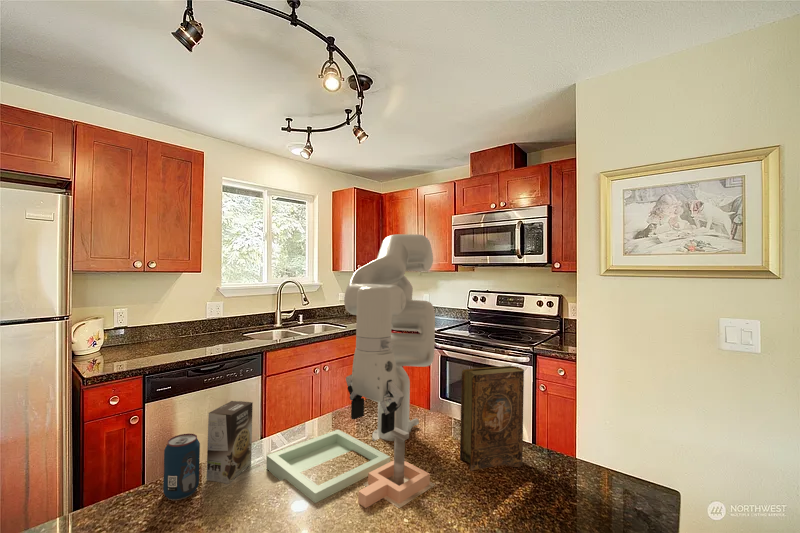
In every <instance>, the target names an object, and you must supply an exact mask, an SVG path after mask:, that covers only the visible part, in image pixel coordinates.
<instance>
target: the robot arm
mask: <svg viewBox="0 0 800 533" xmlns="http://www.w3.org/2000/svg"><path fill="white" fill-rule="evenodd" d="M433 262H434V254H433V249H432V244H431V242H430V239H429V238H428V237H427V236H425V235H423V234H415V233H414V234H412V233H411V234H409V233H407V234H405V233H404V234H401V233H400V234H390V235H388V236H386V237H385V238H384V239H383V240H382V242H381V245H380V248H379V251H378V253H377V256H376V259H374V260H372V261H370V262H369V263H367V264H365V265H363V266H361V267H359V268H358V269H357V270H355V272H353V274H352V275H351V277H350V279H349V281H348V283H347V286H346V289H345V292H344V295H343V296H344V297H343V303H344V308H345V310H346V312H348V313H349V314H350V315H353V316H356V328H355V329H356V330H355V331H356V332H355V333H356V334H355V337H356V338H355V339H356V340H355V350H354V354H353V360H352V367H351V368H352V369H351V370H352V372H351V374H349V375H347V376H346V377H345V381H346V385H347V391H348V394H349V400H350V401H351V404H350V409H351V411H350V412H351V413H350V419H351V420H356V419H360V418H362V417H364V416H365V398H366V399H369V400H371V401H373V402H376V403H377V429H375V430H374V431H372V435H371V438H372V442H374V441H377V440H379V439H382V440H384V441H387V442H388V441H389V442H394V436H393V435H391V434H390V433H391V431H392V430H394V427H396V428H399V429H401V430H403V431H406V432H408V433H409V434H410V433H411V432H412V429H413V428H414V427H416V426H417V425H419V424H420V420H419V418H417V417H416V418H413V419H411V420H410V401H411V399H410V392H411V390H410V389H411V388H410V387H411V381H410V377H409V375H408V373H407V371H406V370H405V369H404V367H418V368H419V367H423V368H424V367H430V366H431V365H432V364H433V361H434V357H435V342H436V340H435V338H436V337H435V336H436V312H435V308H434V305H433V303H431V301H427V300H418V299H417V300H415V299H413V285H412V283H411V282H410V280H409V279H408V278H407V277H406V276H405V274H406V272H428V271H429V270H431V268H432V266H433ZM392 330H394V331H407V332H418V333H407V332H405V333H404V332H392Z"/></svg>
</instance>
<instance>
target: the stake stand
mask: <svg viewBox="0 0 800 533" xmlns="http://www.w3.org/2000/svg"><path fill="white" fill-rule="evenodd" d="M390 434H391V435H393V436H394V441H393V442H394V446H393V447H394V448H393V460H394V475H393V476H391V477H389V478H387V479H388V480H390V481H392V482H393V483H395V484H397V485H398V486H400V485H402V484H403V483H405V482H407V481H409V480H410V478H408V477H406V476H404V461H405V455H406V454H405V453H406V452H405V449H406V446H405V441H406V440H408V439H410V432H409V433H408V432H406V431H403V430H401V429H399V428H396V427H394V430H392V431H391V433H390ZM362 485H363V486H365V487H367V486H369V484H368V480H366V481H364V482H363V483H362ZM434 486H436V483H434V482H432V481H430V484H429V485H428V486H426V487H425V488H423V489H422V490H420V491H418V492H417V493H415V494H414V495H412V496H411V497H409V498H407V499H406V500H404V501H403V502H401V503H400V504H399V503H397V502H396V501H394V500H392V499H391V498H389V497H388V496H386V497H384V498H383V499H384V500H385V501H387V502H388V503H390V504H391V505H393V506H395V507H396V508H398V509H400V508H402V507H403V506H405V505H407V504H408V503H410V502H411V501H413V500H415V499H416V498H418V497H419V496H420V495H423V493H425V492H427V491H428V490H431V489H432V488H433V487H434Z"/></svg>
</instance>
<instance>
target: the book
mask: <svg viewBox="0 0 800 533" xmlns="http://www.w3.org/2000/svg"><path fill="white" fill-rule="evenodd" d="M524 374H525V370H524V369H523V368H522V367H519V366H515V365H504V366H503V365H501V366H500V365H499V366H491V367H488V366H487V367H477V368H466V369H463V370H461V386H460V387H461V389H460V391H461V392H460V393H461V394H460V431H459V432H460V438H459V440H460V441H459V442H460V444H459V447H460V448H459V458H460V459H459V460H460V461H465V462H467V463H469V471H475V470H480V469H487V468H492V467H498V466H503V465H506V466H509V467H510V468H513V467H518V468H521V467H520V466H522V467H523V460H524V459H523V454H524V453H523V449H524V448H523V446H524V444H523V443H524V442H523V441H524V391H525V390H524V389H525V388H524V387H525V386H524V384H525V380H524V379H525V376H524Z"/></svg>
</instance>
